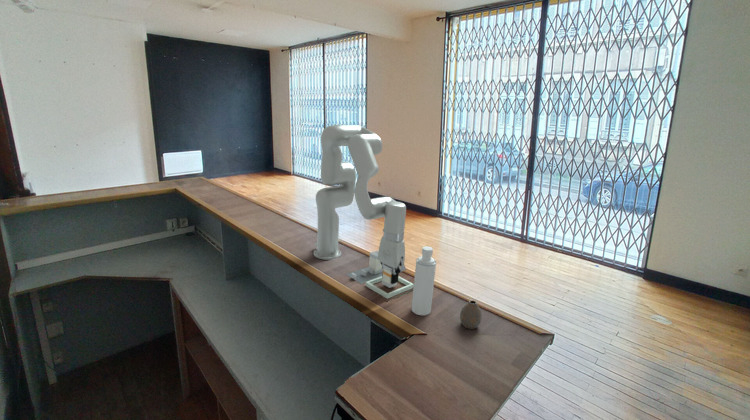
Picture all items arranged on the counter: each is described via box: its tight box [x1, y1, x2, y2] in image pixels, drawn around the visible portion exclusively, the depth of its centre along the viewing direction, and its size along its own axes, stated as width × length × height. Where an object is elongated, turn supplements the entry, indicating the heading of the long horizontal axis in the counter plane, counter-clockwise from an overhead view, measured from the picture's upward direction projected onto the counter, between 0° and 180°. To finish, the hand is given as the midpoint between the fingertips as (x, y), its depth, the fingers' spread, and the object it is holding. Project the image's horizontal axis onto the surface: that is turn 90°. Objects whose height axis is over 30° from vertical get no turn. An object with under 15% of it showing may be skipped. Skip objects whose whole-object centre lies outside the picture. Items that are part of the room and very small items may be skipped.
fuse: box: [368, 250, 383, 274], centre depth 154 cm, size 4×4×8 cm
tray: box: [365, 275, 414, 301], centre depth 143 cm, size 12×14×3 cm
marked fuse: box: [381, 264, 398, 288], centre depth 142 cm, size 4×4×8 cm
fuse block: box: [345, 266, 383, 285], centre depth 152 cm, size 10×15×4 cm, turn 132°
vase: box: [459, 299, 483, 330], centre depth 123 cm, size 7×7×9 cm
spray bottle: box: [411, 245, 437, 316], centre depth 128 cm, size 7×7×25 cm
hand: (390, 280), depth 143 cm, fingers closed on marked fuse, 4 cm apart
